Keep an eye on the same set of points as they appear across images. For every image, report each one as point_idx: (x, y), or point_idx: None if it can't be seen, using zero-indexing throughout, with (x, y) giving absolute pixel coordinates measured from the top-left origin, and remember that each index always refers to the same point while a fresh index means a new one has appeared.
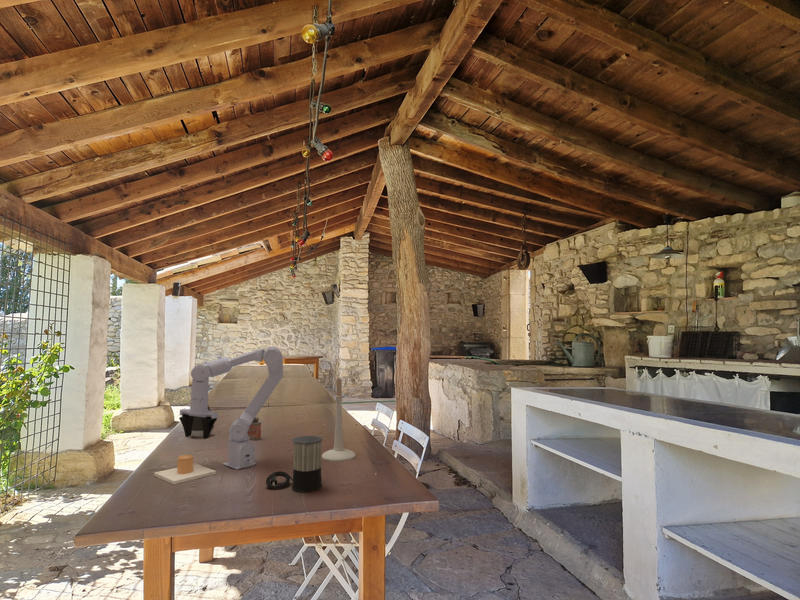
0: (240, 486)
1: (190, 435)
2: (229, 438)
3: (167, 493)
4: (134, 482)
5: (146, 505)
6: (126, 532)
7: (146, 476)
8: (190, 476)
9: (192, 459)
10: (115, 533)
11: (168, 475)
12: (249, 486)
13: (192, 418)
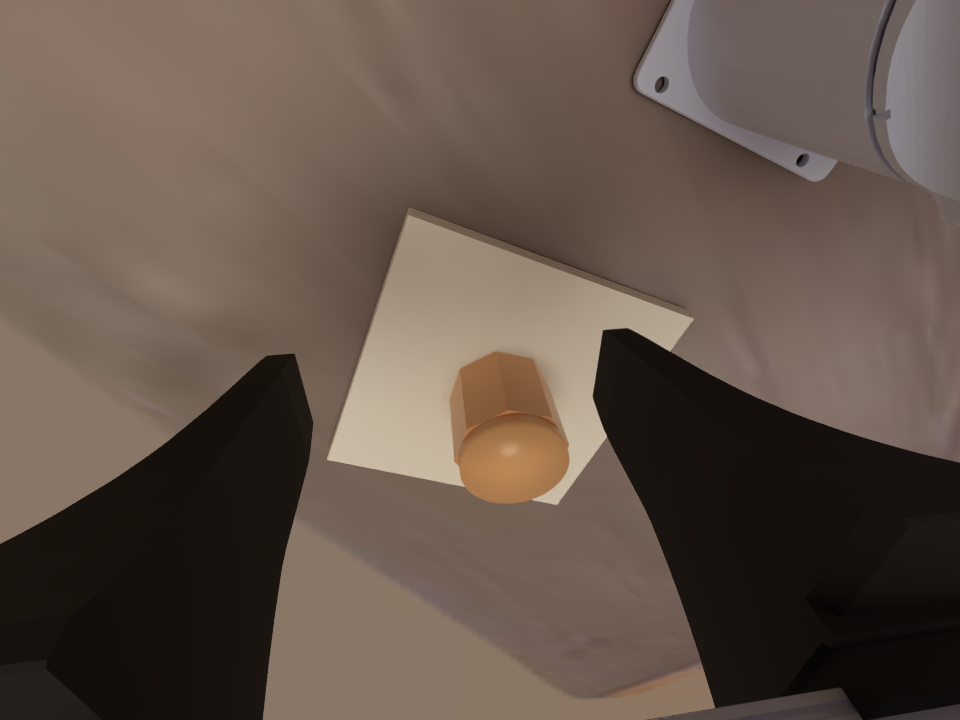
0: (894, 413)
1: (294, 362)
2: (904, 116)
3: (599, 550)
4: (339, 527)
5: (603, 614)
6: (668, 680)
7: None
8: (592, 438)
9: (565, 438)
10: (647, 687)
11: (455, 464)
12: (941, 400)
13: (165, 611)
